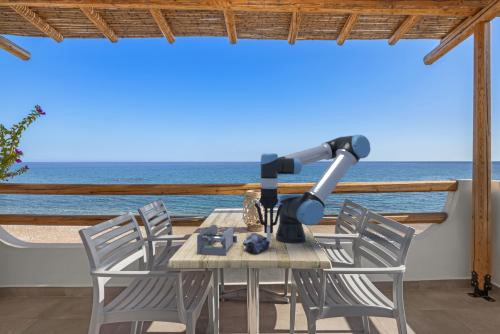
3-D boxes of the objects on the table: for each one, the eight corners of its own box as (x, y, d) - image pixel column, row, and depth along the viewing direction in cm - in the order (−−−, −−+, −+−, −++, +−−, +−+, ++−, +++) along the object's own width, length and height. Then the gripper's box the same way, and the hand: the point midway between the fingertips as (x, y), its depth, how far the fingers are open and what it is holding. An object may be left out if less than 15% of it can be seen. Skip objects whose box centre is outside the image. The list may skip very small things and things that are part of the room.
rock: (258, 252, 121) (263, 229, 125) (236, 247, 125) (242, 225, 129) (266, 259, 133) (271, 237, 137) (246, 254, 137) (251, 233, 141)
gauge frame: (236, 241, 145) (237, 225, 145) (225, 255, 123) (225, 236, 123) (212, 240, 147) (212, 224, 147) (197, 254, 125) (197, 235, 125)
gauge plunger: (234, 241, 145) (234, 225, 144) (223, 254, 124) (223, 235, 124) (211, 240, 147) (211, 224, 147) (196, 252, 126) (196, 234, 126)
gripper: (284, 187, 133) (283, 239, 134) (255, 186, 136) (255, 237, 136) (283, 188, 126) (282, 243, 126) (253, 188, 128) (252, 241, 128)
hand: (268, 240), depth 131 cm, fingers closed
